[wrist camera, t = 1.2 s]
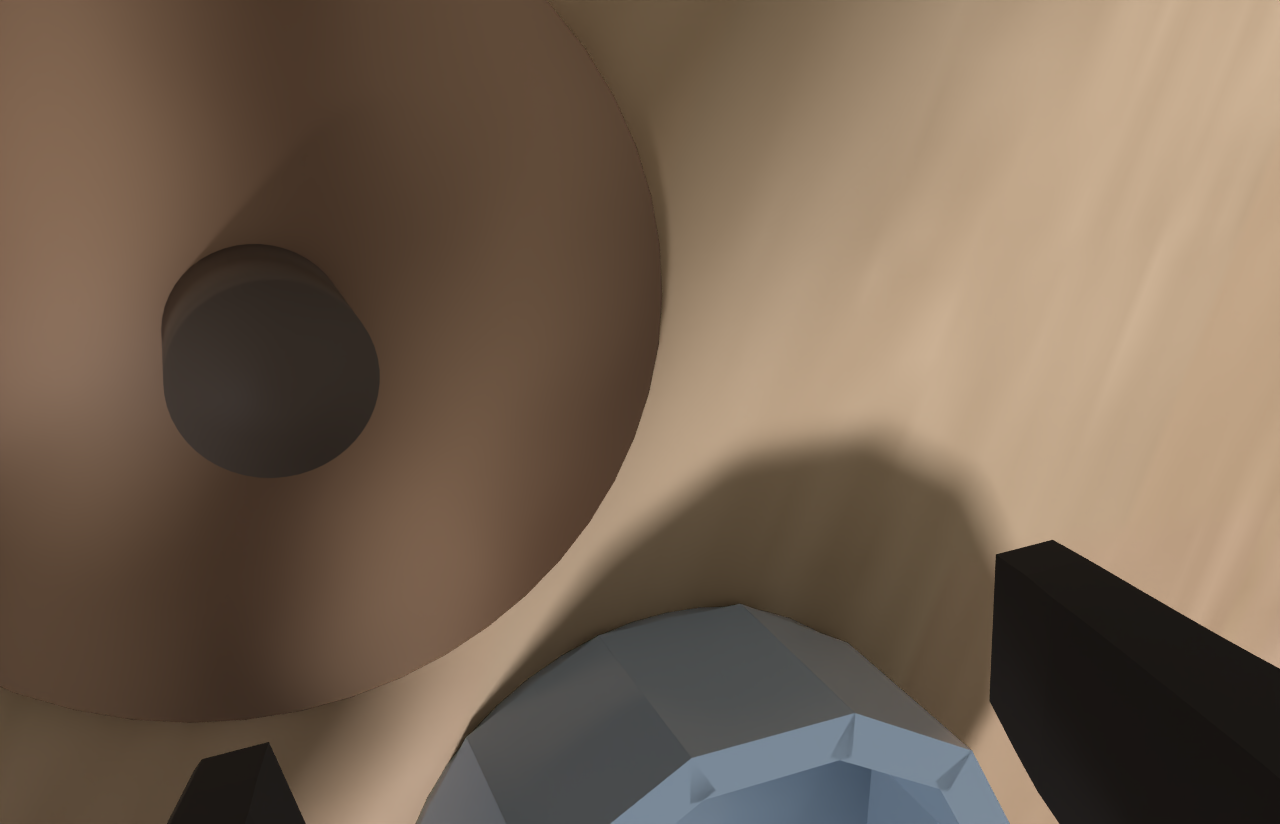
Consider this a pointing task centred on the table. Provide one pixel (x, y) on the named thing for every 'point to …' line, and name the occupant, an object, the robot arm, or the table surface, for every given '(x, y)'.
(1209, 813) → the robot arm
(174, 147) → the lid
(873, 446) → the table surface
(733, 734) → the bowl
